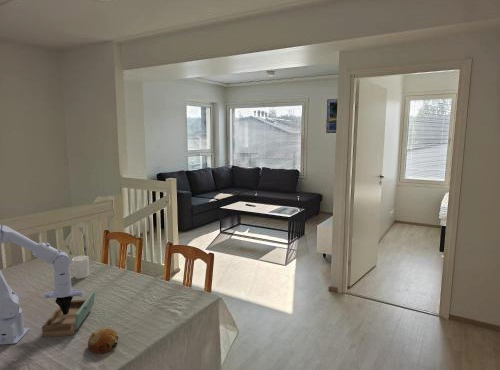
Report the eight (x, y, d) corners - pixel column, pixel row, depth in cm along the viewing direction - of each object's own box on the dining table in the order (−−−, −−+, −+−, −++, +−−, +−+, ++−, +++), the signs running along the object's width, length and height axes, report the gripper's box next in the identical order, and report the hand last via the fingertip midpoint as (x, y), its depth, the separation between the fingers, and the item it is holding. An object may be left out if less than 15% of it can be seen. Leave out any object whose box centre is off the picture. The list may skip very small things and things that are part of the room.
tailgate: (78, 329, 132) (79, 314, 131) (74, 328, 132) (75, 314, 131) (95, 304, 150) (96, 291, 149) (91, 304, 150) (92, 291, 149)
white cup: (73, 274, 185) (72, 256, 184) (90, 272, 189) (88, 254, 187) (73, 280, 178) (71, 262, 177) (90, 277, 182) (88, 259, 180)
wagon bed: (73, 334, 131) (72, 325, 131) (43, 336, 130) (41, 327, 130) (91, 307, 151) (90, 299, 150) (65, 309, 150) (64, 300, 149)
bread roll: (113, 344, 131) (107, 324, 132) (125, 343, 125) (119, 321, 126) (87, 358, 124) (81, 336, 125) (99, 357, 117) (92, 334, 118)
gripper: (85, 276, 142) (88, 307, 145) (48, 278, 141) (51, 309, 143) (79, 284, 135) (82, 316, 138) (39, 286, 134) (43, 318, 136)
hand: (66, 313), depth 140 cm, fingers closed
